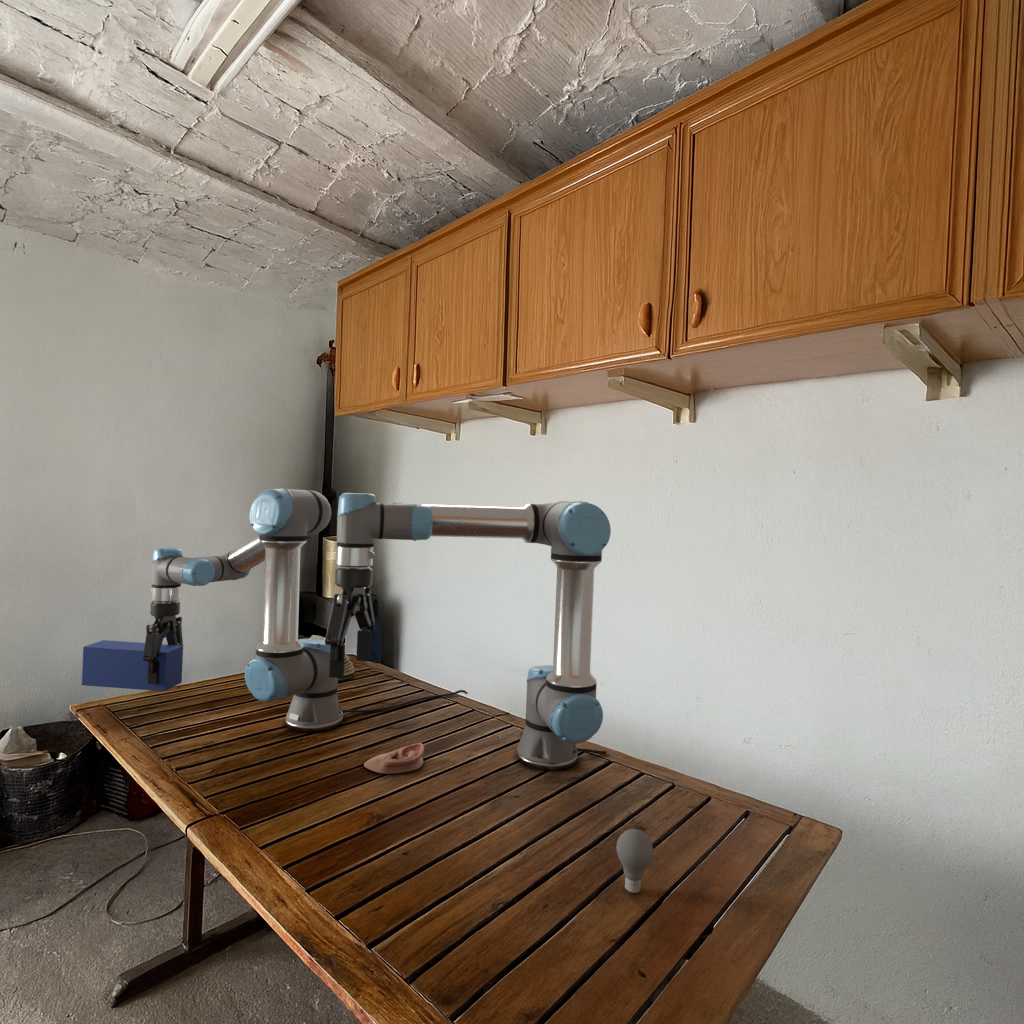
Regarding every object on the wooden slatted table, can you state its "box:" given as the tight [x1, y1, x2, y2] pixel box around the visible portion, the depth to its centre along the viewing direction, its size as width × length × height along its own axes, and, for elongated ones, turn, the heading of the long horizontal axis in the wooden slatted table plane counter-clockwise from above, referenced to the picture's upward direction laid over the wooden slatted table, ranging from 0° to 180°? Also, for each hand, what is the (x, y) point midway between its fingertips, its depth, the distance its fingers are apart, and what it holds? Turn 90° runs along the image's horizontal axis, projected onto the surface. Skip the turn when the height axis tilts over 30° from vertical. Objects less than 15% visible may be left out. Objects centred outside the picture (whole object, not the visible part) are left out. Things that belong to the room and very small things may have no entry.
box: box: [81, 639, 184, 692], centre depth 184 cm, size 24×8×11 cm, turn 88°
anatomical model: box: [363, 742, 425, 775], centre depth 151 cm, size 13×4×12 cm
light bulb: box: [615, 828, 654, 894], centre depth 106 cm, size 6×6×10 cm
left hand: (162, 678), depth 184 cm, fingers closed on box, 8 cm apart
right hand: (350, 668), depth 132 cm, fingers open, 13 cm apart
